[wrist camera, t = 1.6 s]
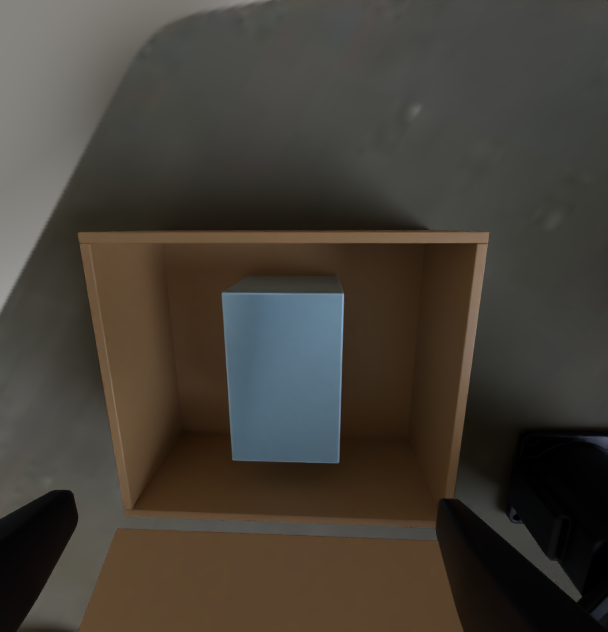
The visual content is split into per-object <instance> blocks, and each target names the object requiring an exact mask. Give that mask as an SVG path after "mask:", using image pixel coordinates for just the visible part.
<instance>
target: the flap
mask: <svg viewBox="0 0 608 632" xmlns="http://www.w3.org/2000/svg"><path fill="white" fill-rule="evenodd" d="M78 632H464V631H463V628H462V625H461V622H460V619H459V616H458V613H457V610H456V607H455V603H454V600H453V596H452V592H451V588H450V584H449V581H448V577H447V573H446V569H445V566H444V562H443V558H442V554H441V550H440V547H439V543H438V541H429V540H403V539H377V538H352V537H326V536H300V535H275V534H249V533H223V532H198V531H172V530H147V529H121V528H118V529H117V530H116V533H115V535H114V538H113V541H112V543H111V546H110V549H109V551H108V554H107V557H106V559H105V562H104V565H103V567H102V570H101V573H100V575H99V578H98V581H97V583H96V586H95V589H94V591H93V594H92V597H91V599H90V602H89V605H88V607H87V610H86V613H85V615H84V618H83V621H82V623H81V626H80V629H79V631H78Z"/></svg>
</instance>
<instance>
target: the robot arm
mask: <svg viewBox="0 0 608 632" xmlns="http://www.w3.org/2000/svg"><path fill="white" fill-rule="evenodd" d="M531 438H532V439H531ZM529 439H531V440H530V441H528V440H529ZM507 500H508V502H507V508H506V515H507V517H508V518H509V520H510V521H511V522H512V523H517V524H525V526H526V527H527V529H528V530H529V532H530V533H531V535H532V536H533V538H534V539H535V540H536V542H537V543H538V545H539V546H540V548H541V549H542V551H543V552H544V554H545V555H546V556H547V557H548V558H549V559H550V560H552V561H557V562H558V563H559V564H560V566H561V567H562V569H563V570H564V571H565V573H566V574H567V576H568V577H569V578H570V580H571V581H572V583H573V584H574V585H575V587H576V588H577V590H578V591H579V592H580V594H581V595H582V597H581V598H580V599H579V601H578V602H577V603H576V602H575V601H574V600H573V599H572V598H571V597H570V596H568V595H567V594H566V593H565V592H564V591H563V590H562V589H560V588H559V587H558V586H557V585H556V584H555V583H554V582H552V581H551V580H550V579H549V578H548V577H547V576H546V575H544V574H543V573H542V572H541V571H540V570H539V569H538V568H536V567H535V566H534V565H533V564H532V563H531V562H530V561H528V560H527V559H526V558H525V557H524V556H523V555H522V554H520V553H519V552H518V551H517V550H516V549H515V548H514V547H512V546H511V545H510V544H509V543H508V542H507V541H506V540H504V539H503V538H502V537H501V536H500V535H499V534H498V533H496V532H495V531H494V530H493V529H492V528H491V527H490V526H488V525H487V524H486V523H485V522H484V521H483V520H482V519H480V518H479V517H478V516H477V515H476V514H475V513H474V512H472V511H471V510H470V509H469V508H468V507H467V506H466V505H464V504H463V503H462V502H461V501H460V500H458V499H455V498H442V499H440V500H439V503H438V511H437V519H436V534H437V539H438V543H439V547H440V550H441V554H442V558H443V562H444V566H445V569H446V573H447V577H448V581H449V584H450V588H451V592H452V596H453V600H454V603H455V607H456V610H457V613H458V616H459V619H460V622H461V625H462V628H463V631H464V632H608V433H606V432H565V431H525V432H523V433H522V434H521V435H520V437H519V443H518V448H517V453H516V459H515V464H514V466H513V468H512V474H511V479H510V485H509V490H508V496H507ZM515 514H516V515H515ZM77 522H78V513H77V508H76V504H75V499H74V495H73V493H72V492H71V491H69V490H53V491H50V492H48V493H47V494H45V495H43V496H41V497H39V498H38V499H36V500H34V501H32V502H30V503H29V504H27V505H25V506H23V507H21V508H20V509H18V510H16V511H14V512H12V513H10V514H9V515H7V516H5V517H3V518H1V519H0V632H17V630H18V628H19V627H20V625H21V624H22V622H23V621H24V619H25V617H26V616H27V614H28V613H29V611H30V610H31V608H32V606H33V605H34V603H35V601H36V600H37V598H38V596H39V595H40V593H41V591H42V589H43V588H44V586H45V584H46V582H47V580H48V578H49V577H50V575H51V573H52V571H53V569H54V567H55V565H56V564H57V562H58V560H59V558H60V556H61V554H62V552H63V551H64V549H65V547H66V545H67V543H68V541H69V539H70V538H71V536H72V534H73V532H74V530H75V528H76V526H77Z"/></svg>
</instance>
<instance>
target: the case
mask: <svg viewBox="0 0 608 632" xmlns="http://www.w3.org/2000/svg"><path fill="white" fill-rule="evenodd" d="M222 309H223V324H224V339H225V355H226V370H227V385H228V401H229V416H230V432H231V447H232V459H233V460H240V461H274V462H309V463H339V453H340V419H341V384H342V350H343V315H344V293H343V290H342V288H341V285H340V282H339V279H338V276H246V277H245V278H243V279H242V280H240V281H239V282H237V283H236V284H234V285H233V286H231V287H230V288H228V289H227V290H225V291H224V292H222Z"/></svg>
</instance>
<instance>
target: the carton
mask: <svg viewBox="0 0 608 632" xmlns="http://www.w3.org/2000/svg"><path fill="white" fill-rule="evenodd" d="M78 238H79V243H80V250H81V256H82V262H83V268H84V274H85V280H86V286H87V292H88V298H89V304H90V310H91V316H92V322H93V328H94V334H95V340H96V346H97V352H98V357H99V363H100V369H101V375H102V381H103V387H104V393H105V399H106V405H107V411H108V417H109V423H110V429H111V435H112V441H113V447H114V453H115V459H116V465H117V471H118V477H119V483H120V489H121V495H122V501H123V507H124V513H125V516H129V517H156V518H183V519H209V520H236V521H263V522H290V523H317V524H343V525H370V526H397V527H424V528H436V519H437V511H438V503H439V500H440V499H442V498H454V492H455V485H456V478H457V470H458V463H459V455H460V448H461V440H462V433H463V425H464V418H465V410H466V403H467V395H468V388H469V381H470V373H471V366H472V358H473V351H474V343H475V336H476V328H477V321H478V313H479V306H480V298H481V291H482V284H483V276H484V269H485V261H486V254H487V246H488V244H487V243H488V239H489V232H485V231H448V230H156V231H107V232H78ZM246 276H338V279H339V282H340V285H341V288H342V290H343V293H344V315H343V350H342V384H341V419H340V453H339V463H309V462H274V461H240V460H233V459H232V447H231V432H230V416H229V401H228V385H227V370H226V355H225V339H224V324H223V309H222V292H224V291H225V290H227V289H228V288H230V287H231V286H233V285H234V284H236V283H237V282H239V281H240V280H242V279H243V278H245V277H246Z"/></svg>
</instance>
